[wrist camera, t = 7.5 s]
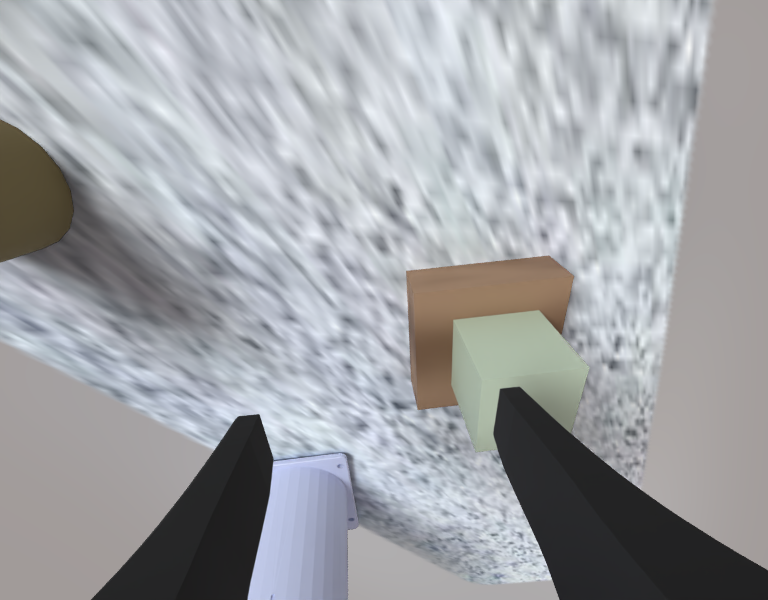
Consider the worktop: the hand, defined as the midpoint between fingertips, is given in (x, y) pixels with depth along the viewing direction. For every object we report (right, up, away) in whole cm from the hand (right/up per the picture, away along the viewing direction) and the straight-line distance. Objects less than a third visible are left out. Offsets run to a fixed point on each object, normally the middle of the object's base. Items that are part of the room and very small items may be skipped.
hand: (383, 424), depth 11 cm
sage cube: (+6, +1, +9) cm, 11 cm away
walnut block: (+5, +3, +11) cm, 13 cm away
